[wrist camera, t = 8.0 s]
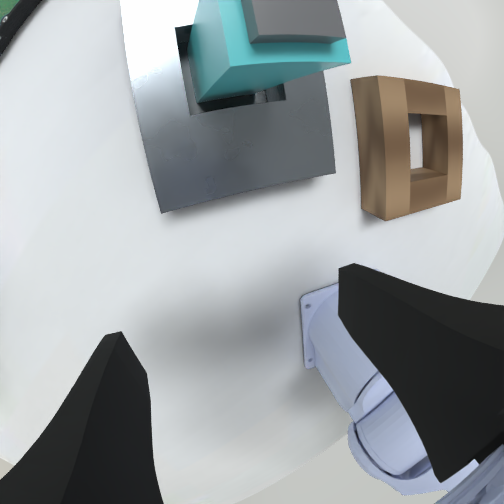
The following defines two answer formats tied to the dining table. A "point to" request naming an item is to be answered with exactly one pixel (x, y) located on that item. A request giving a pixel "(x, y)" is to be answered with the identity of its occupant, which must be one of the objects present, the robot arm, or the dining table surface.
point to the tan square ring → (407, 145)
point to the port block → (217, 119)
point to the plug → (262, 44)
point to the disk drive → (13, 18)
